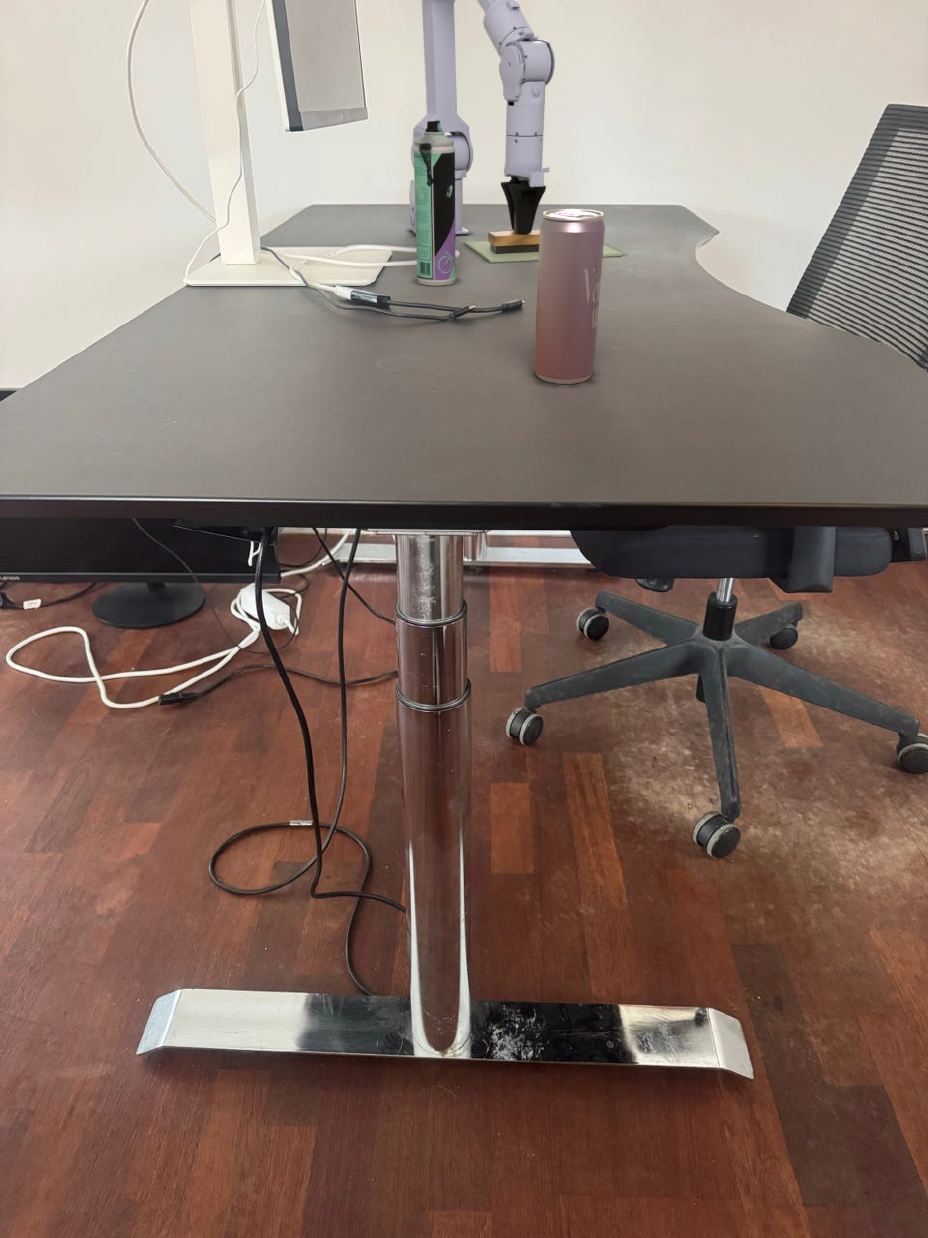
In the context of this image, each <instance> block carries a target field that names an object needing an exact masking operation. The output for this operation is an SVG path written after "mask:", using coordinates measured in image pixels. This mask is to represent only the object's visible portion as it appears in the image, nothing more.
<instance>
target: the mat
mask: <svg viewBox="0 0 928 1238" xmlns="http://www.w3.org/2000/svg"><path fill="white" fill-rule="evenodd" d="M490 244H491V243H489V242H488V240H485V241H484V240H483V241H466V242H465V245H466V246H467V247H468V248H470V249H471V250H473V251H474V252H475V253H476V254H478V255H479V256H480V257H482V258H484V259H485V260H486V261H488V262H489V263H492V264H493V263H511V262H512V263H513V262H530V261H531V262H532V261H539V252H525V253H505V254H495V253H494V252H493V251H491V250H490ZM608 257H610V258H611V257H623V253H622V252H621V251H619V250H616V249H614V248H613V247H610V246H608V245H606V244H604V248H603V258H608Z"/></svg>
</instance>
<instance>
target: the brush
mask: <svg viewBox="0 0 928 1238" xmlns="http://www.w3.org/2000/svg"><path fill="white" fill-rule="evenodd" d="M487 234H488V235H487V241H488V242H489V243H491V244H490V250H491V251H493V252H494V253H495V254H505V253H525V252H539V237H540V229H532V231H531V233H524V234H519V233H518V232H517V228H516V218H515V216H514V231H513V230H504V231H488V232H487Z"/></svg>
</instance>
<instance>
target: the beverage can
mask: <svg viewBox="0 0 928 1238" xmlns="http://www.w3.org/2000/svg"><path fill="white" fill-rule="evenodd" d="M541 215H542V220H541V222H540V225H539V230H540V237H539V260H537V262H538V263H537V284H536V285H537V287H536V310H535V331H534V332H535V333H534V355H533V356H534V357H533V370H534V373H535V374H536V376H537V378H538V379H540V380H541V381H544V382H546V383H552V384H557V385H574V384H579V383H580V384H581V383H583V382H585V381H587V380H589V379H590V377H591V376H592V374H593V373H594V370H595V359H596V347H597V346H596V345H597V335H598V323H599V322H598V321H599V309H600V297H601V286H602V285H601V284H602V274H603V273H602V272H603V259H604V257H603V248H604V245H605V236H606V234H605V233H606V225H605V221H604V218H605V213H603V212H602V211H599V210H593V209H584V208H559V209H558V208H557V209H550V210H545V211H543V212H542V214H541Z"/></svg>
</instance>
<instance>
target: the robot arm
mask: <svg viewBox="0 0 928 1238" xmlns="http://www.w3.org/2000/svg"><path fill="white" fill-rule="evenodd" d="M455 2H456V0H421V13H422V14H421V15H422V31H423V32H422V33H423V35H422V36H423V37H422V38H423V53H424V54H423V58H424V59H423V60H424V81H425V102H426V104H425V106H426V114H425V115H424V116H423V118H421V119H420V121H419V122H418V123H417V124H416V125H415V126H414V127H413V128H412V144H411V148H410V160H411V165H412V168H413V169H414V147H415V144H414V142H415V141H417V140H418V139H419V138H420V137H421V136H423V135H424V134H423V132H424V131H425V129H427V122H428V121H440V128H442V131H444V132H445V133H449V134H446V136H447V137H448V138H449V139H450V140H451V141H454V144H453V146H454V148H455V235H469V234H470V231H469V230H468V229H466V227H464V210H463V209H464V191H463V190H464V179H463V178H467V173H468V172H469V171H470V169H471V168H472V165H473V161H474V148H473V144H472V141H471V136H470V126H469V125H468V123H466V121H464V120H463V118H461V116H460V115H459V114H458V101H457V100H458V99H457V98H458V97H457V63H456V28H455V27H456V26H455ZM476 2H477V3H478V5H479V6H480V8H481V9H482V11H483V12H484V17H483V21H482V24H483V28H484V31H485V32H486V34H487V36H488V38H489V40H490V41H491V43H492V45H493V47H494V49H495V51H496V53H497V56H498V57H499V59H500V63H498V72H499V77H500V80H501V82H502V95H503V98H504V100H505V101H506V116H505V117H506V118H505V119H506V120H505V121H506V122H505V156H504V157H505V158H504V159H505V162H504V167H503V174H504V178H505V177H506V178H510V179H509V181H501V182H500V186H501V189H502V192H503V194H504V196H505V197H504V198H505V200H506V203H507V208H508V214H509V220H510V226H511V229H512V230H511V231H514V216H515V218H516V228H517V232H518V233H519V234H524V233H531V231H532V230H533V227H534V223H535V219H536V215H537V211H538V207H539V205H540V202H541V201H542V198H543V196H544V194H545V192H546V191H547V190H546V189H547V186H546V185H544V184H545V173H550V167H549V166H545V165H543V157H544V156H543V155H544V154H543V153H544V152H543V151H544V131H545V128H544V127H545V105H546V87H547V85H548V84H549V83H550V82H551V81H552V79H553V77H554V73H555V67H556V59H555V58H556V57H555V52H554V50H553V47H552V44H551V42H550V41H549V40H547V39H541V38H540V36H537V35H535V33H534V31H533V30H532V28H531V26H530V24H529V22H528V20H527V19H526V17H525V15H524V12H523V11H522V10H521V4H520V3H519V2H518V0H476ZM408 193H409V194H408V195H409V222H410V225H409V230H410V231H411V232H412V233H414V234H415V235H416V215H415V179H412V180H410V182H409V192H408Z"/></svg>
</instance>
